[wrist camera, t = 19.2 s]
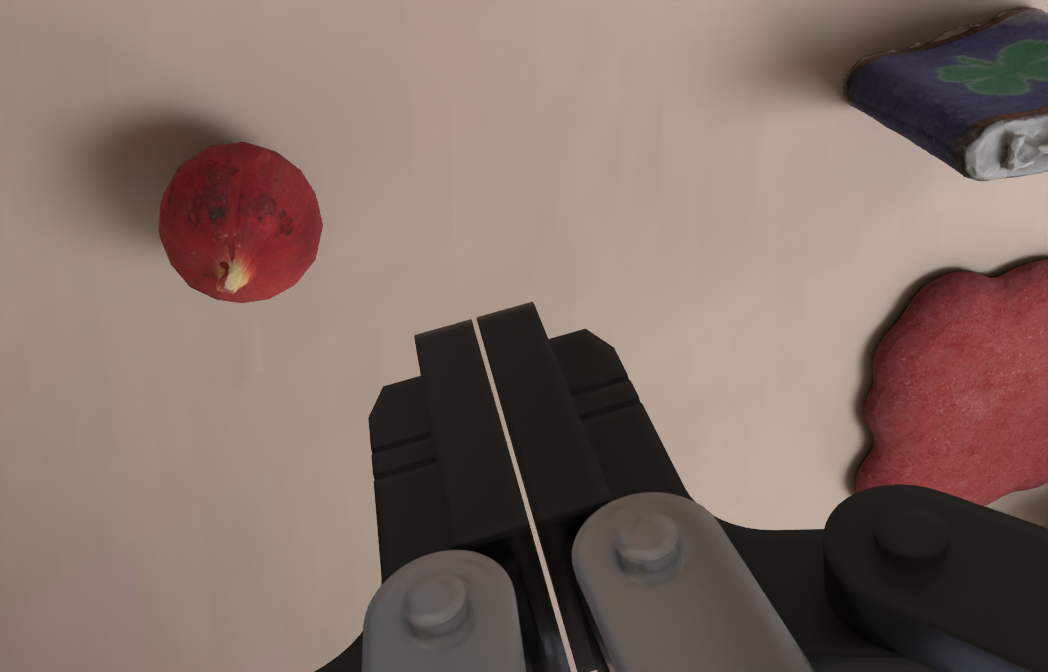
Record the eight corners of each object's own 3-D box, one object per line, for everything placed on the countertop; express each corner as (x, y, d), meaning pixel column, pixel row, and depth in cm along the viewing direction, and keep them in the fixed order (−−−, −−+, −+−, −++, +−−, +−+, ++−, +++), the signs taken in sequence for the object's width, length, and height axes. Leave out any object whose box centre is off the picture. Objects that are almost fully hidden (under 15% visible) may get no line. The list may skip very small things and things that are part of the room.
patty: (1056, 479, 56) (1078, 501, 54) (845, 527, 55) (861, 551, 53) (1127, 231, 46) (1156, 248, 45) (872, 283, 45) (892, 303, 43)
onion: (155, 126, 35) (114, 212, 28) (305, 106, 35) (299, 186, 29) (197, 258, 38) (169, 363, 31) (334, 237, 39) (334, 336, 32)
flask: (1044, -3, 38) (1257, 70, 30) (1039, 63, 40) (1238, 150, 31) (839, 60, 38) (991, 152, 30) (842, 124, 40) (986, 229, 31)
